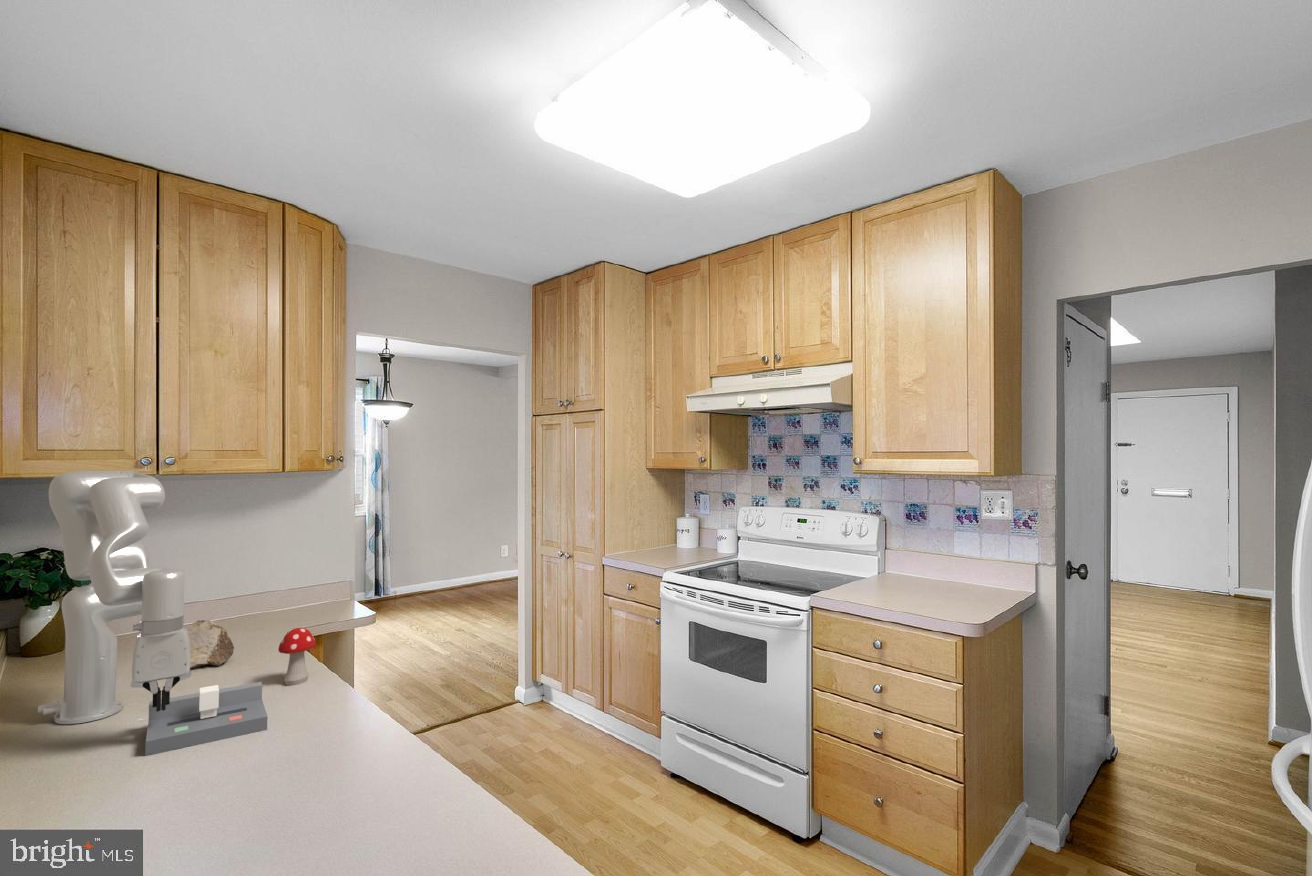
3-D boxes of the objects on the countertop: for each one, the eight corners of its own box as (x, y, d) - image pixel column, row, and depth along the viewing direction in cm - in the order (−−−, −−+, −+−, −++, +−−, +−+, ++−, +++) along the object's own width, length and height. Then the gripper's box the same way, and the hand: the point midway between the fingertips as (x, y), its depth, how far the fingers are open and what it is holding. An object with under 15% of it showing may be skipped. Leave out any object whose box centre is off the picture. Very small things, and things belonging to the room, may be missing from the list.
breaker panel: (145, 755, 132) (146, 724, 133) (148, 729, 145) (149, 701, 145) (267, 729, 146) (267, 700, 146) (260, 707, 158) (261, 681, 159)
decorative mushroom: (296, 688, 171) (297, 633, 172) (269, 686, 173) (270, 631, 174) (322, 676, 181) (323, 624, 182) (296, 674, 183) (297, 622, 183)
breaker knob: (199, 720, 143) (199, 693, 143) (198, 713, 146) (199, 687, 146) (218, 716, 145) (219, 690, 145) (217, 710, 148) (218, 684, 149)
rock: (167, 651, 180) (213, 611, 191) (157, 652, 184) (203, 612, 195) (205, 684, 186) (248, 642, 196) (195, 683, 190) (237, 643, 201)
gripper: (117, 635, 133) (115, 723, 132) (204, 623, 142) (202, 705, 141) (120, 628, 139) (118, 712, 138) (203, 617, 148) (201, 696, 147)
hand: (161, 708), depth 140 cm, fingers closed
